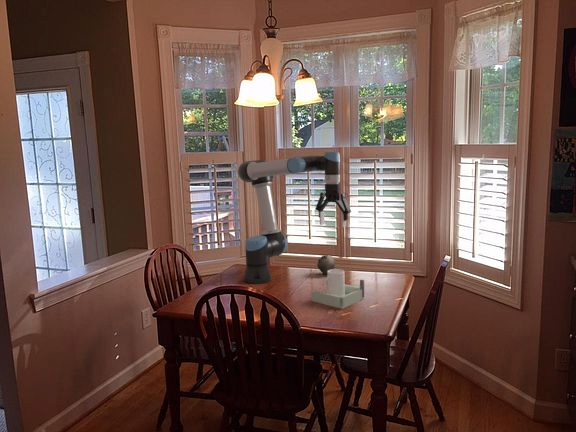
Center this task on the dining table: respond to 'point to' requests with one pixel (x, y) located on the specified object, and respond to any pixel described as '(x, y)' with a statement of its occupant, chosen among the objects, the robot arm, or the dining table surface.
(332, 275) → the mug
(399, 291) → the dining table surface
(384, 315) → the dining table surface
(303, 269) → the dining table surface
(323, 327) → the dining table surface
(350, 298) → the tray
